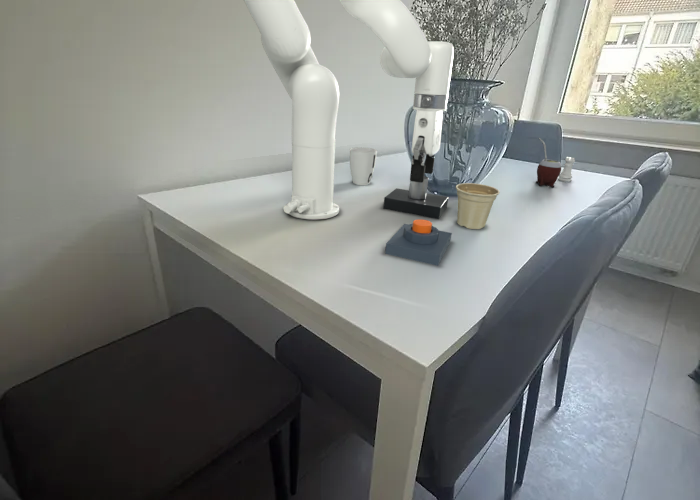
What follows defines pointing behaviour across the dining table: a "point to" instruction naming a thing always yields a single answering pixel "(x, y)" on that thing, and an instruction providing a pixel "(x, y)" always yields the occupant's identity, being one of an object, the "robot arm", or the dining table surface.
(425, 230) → the button
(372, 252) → the dining table surface
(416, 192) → the dial
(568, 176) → the rook chess piece
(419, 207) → the panel
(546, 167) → the mate gourd
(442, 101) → the robot arm
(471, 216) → the flower pot
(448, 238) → the button housing
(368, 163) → the cup
